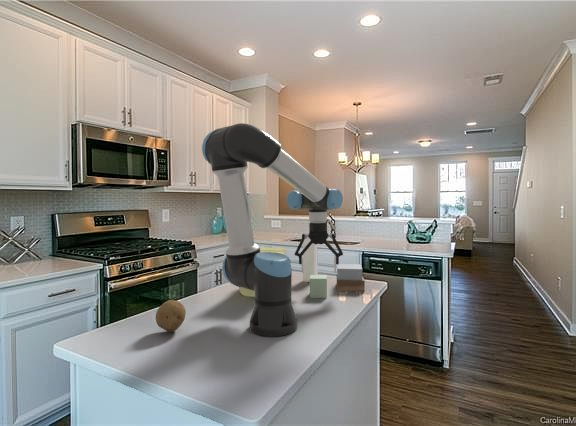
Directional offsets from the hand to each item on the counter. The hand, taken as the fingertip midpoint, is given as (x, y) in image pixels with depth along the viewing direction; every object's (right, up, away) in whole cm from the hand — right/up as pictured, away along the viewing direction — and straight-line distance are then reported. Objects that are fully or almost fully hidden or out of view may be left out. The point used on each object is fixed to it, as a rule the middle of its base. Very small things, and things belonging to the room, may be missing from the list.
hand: (319, 272), depth 145 cm
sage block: (0, -10, 0) cm, 10 cm away
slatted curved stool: (-25, -10, +5) cm, 28 cm away
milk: (-2, -9, +27) cm, 28 cm away
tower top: (+15, -5, +12) cm, 20 cm away
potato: (-49, -12, -39) cm, 64 cm away
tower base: (+15, -10, +12) cm, 22 cm away
